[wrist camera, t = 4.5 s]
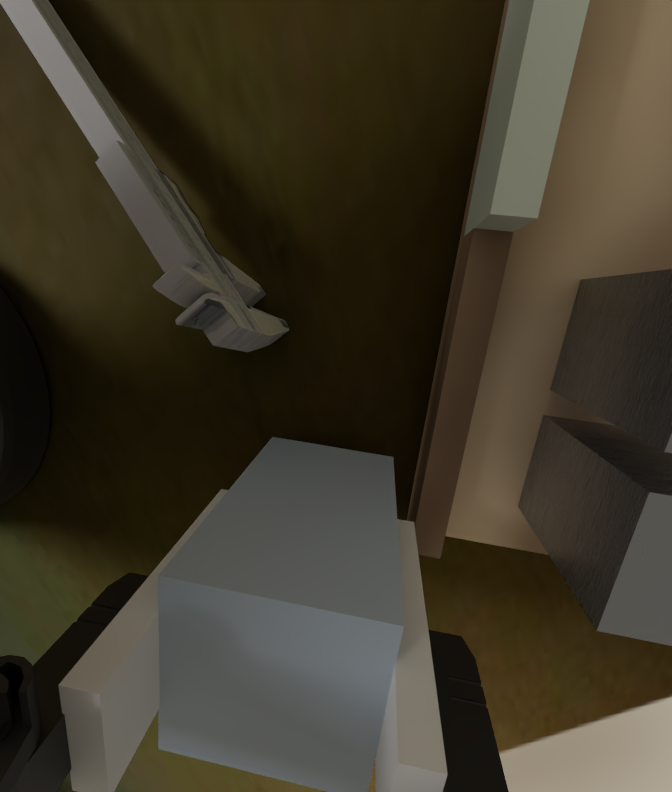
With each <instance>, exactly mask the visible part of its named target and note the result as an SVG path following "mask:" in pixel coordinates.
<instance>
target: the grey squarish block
mask: <svg viewBox="0 0 672 792" xmlns="http://www.w3.org/2000/svg"><path fill="white" fill-rule="evenodd" d="M518 507H519V509H520V511H521V512H522V514H523V515H524V517H525V518H526V520H527V522H528V523H529V525H530V526H531V528H532V530H533V531H534V533H535V534H536V536H537V537H538V539H539V541H540V542H541V544H542V545H543V547H544V548H545V550H546V552H547V553H548V555H549V556H550V558H551V560H552V561H553V563H554V564H555V566H556V567H557V569H558V571H559V572H560V574H561V575H562V577H563V578H564V580H565V582H566V583H567V585H568V586H569V588H570V590H571V591H572V593H573V594H574V596H575V597H576V599H577V601H578V602H579V604H580V605H581V607H582V609H583V610H584V612H585V613H586V615H587V616H588V618H589V620H590V621H591V623H592V624H593V626H594V627H595V629H596V631H600V632H605V633H610V634H615V635H620V636H625V637H630V638H635V639H640V640H645V641H650V642H655V643H660V644H665V645H670V646H672V453H668V452H664V451H662V450H660V449H658V448H656V447H654V446H653V445H651V444H649V443H647V442H645V441H643V440H642V439H640V438H638V437H636V436H634V435H632V434H630V433H629V432H627V431H625V430H623V429H621V428H619V427H618V426H616V425H610V424H603V423H596V422H589V421H582V420H575V419H569V418H562V417H555V416H548V415H543V417H542V421H541V424H540V428H539V431H538V435H537V439H536V442H535V446H534V449H533V453H532V457H531V460H530V464H529V467H528V471H527V475H526V478H525V482H524V485H523V489H522V493H521V496H520V500H519V503H518Z"/></svg>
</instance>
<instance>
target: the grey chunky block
mask: <svg viewBox="0 0 672 792" xmlns="http://www.w3.org/2000/svg"><path fill="white" fill-rule="evenodd" d="M550 390H551V391H553V392H555V393H557V394H559V395H560V396H562V397H564V398H566V399H568V400H570V401H571V402H573V403H575V404H577V405H579V406H581V407H583V408H584V409H586V410H588V411H590V412H592V413H594V414H595V415H597V416H599V417H601V418H603V419H605V420H606V421H608V422H610V423H612V424H614V425H616V426H618V427H619V428H621V429H623V430H625V431H627V432H629V433H630V434H632V435H634V436H636V437H638V438H640V439H642V440H643V441H645V442H647V443H649V444H651V445H653V446H654V447H656V448H658V449H660V450H662V451H664V452H668V453H672V269H666V270H658V271H649V272H641V273H632V274H624V275H615V276H607V277H598V278H590V279H581V280H580V283H579V287H578V290H577V294H576V298H575V301H574V305H573V308H572V312H571V316H570V319H569V323H568V326H567V330H566V334H565V337H564V341H563V344H562V348H561V352H560V355H559V359H558V362H557V366H556V370H555V373H554V377H553V380H552V384H551V388H550Z"/></svg>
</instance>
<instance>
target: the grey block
mask: <svg viewBox="0 0 672 792" xmlns="http://www.w3.org/2000/svg"><path fill="white" fill-rule="evenodd" d="M158 611H159V671H160V707H159V709H158V748H159V749H161V750H164V751H168V752H172V753H176V754H180V755H184V756H188V757H192V758H196V759H200V760H204V761H208V762H212V763H216V764H220V765H224V766H228V767H232V768H236V769H240V770H244V771H248V772H252V773H256V774H260V775H264V776H268V777H271V778H275V779H279V780H283V781H287V782H291V783H295V784H299V785H303V786H307V787H311V788H315V789H319V790H323V791H327V792H368V790H369V785H370V780H371V776H372V771H373V767H374V762H375V758H376V753H377V748H378V743H379V738H380V733H381V728H382V723H383V718H384V714H385V709H386V704H387V699H388V694H389V689H390V684H391V679H392V674H393V670H394V665H395V661H397V657H398V652H399V648H400V643H401V638H402V634H403V629H404V617H403V601H402V586H401V570H400V554H399V538H398V523H397V507H396V491H395V475H394V460H393V457H390V456H384V455H378V454H372V453H366V452H360V451H354V450H348V449H343V448H337V447H331V446H325V445H319V444H313V443H307V442H301V441H295V440H289V439H283V438H277V437H272V438H271V439H270V440H269V442H268V443H267V444H266V445H265V447H264V448H263V449H262V450H261V451H260V453H259V454H258V455H257V456H256V457H255V459H254V460H253V461H252V462H251V463H250V465H249V466H248V467H247V468H246V470H245V471H244V472H243V473H242V474H241V476H240V477H239V478H238V479H237V480H236V482H235V483H234V484H233V485H232V486H231V488H230V489H229V490H228V491H227V493H226V494H225V495H224V496H223V497H222V499H221V500H220V501H219V502H218V503H217V505H216V506H215V507H214V508H213V510H212V511H211V512H210V513H209V514H208V516H207V517H206V518H205V519H204V520H203V522H202V523H201V524H200V525H199V526H198V528H197V529H196V530H195V531H194V533H193V534H192V535H191V536H190V537H189V539H188V540H187V541H186V542H185V543H184V545H183V546H182V547H181V548H180V550H179V551H178V552H177V553H176V554H175V556H174V557H173V558H172V559H171V560H170V562H169V563H168V564H167V565H166V566H165V568H164V569H163V570H162V571H161V573H160V574H159V575H158Z"/></svg>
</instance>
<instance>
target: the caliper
mask: <svg viewBox="0 0 672 792" xmlns="http://www.w3.org/2000/svg"><path fill="white" fill-rule="evenodd" d="M0 3H1V5H2V7H3V8H4V10H5V11H6V13H7V14H8V16H9V17H10V19H11V21H12V22H13V24H14V25H15V27H16V28H17V30H18V32H19V33H20V35H21V36H22V38H23V39H24V41H25V42H26V44H27V46H28V47H29V49H30V50H31V52H32V53H33V55H34V57H35V58H36V60H37V61H38V63H39V64H40V66H41V67H42V69H43V71H44V72H45V74H46V75H47V77H48V78H49V80H50V81H51V83H52V85H53V86H54V88H55V89H56V91H57V92H58V94H59V96H60V97H61V99H62V100H63V102H64V103H65V105H66V106H67V108H68V110H69V111H70V113H71V114H72V116H73V117H74V119H75V121H76V122H77V124H78V125H79V127H80V128H81V130H82V131H83V133H84V135H85V136H86V138H87V139H88V141H89V142H90V144H91V145H92V147H93V149H94V150H95V152H96V153H97V155H98V156H99V159H98V160H97V161H96V162H95V163H96V165H97V166H98V168H99V169H100V171H101V172H102V174H103V176H104V177H105V179H106V180H107V182H108V184H109V185H110V187H111V188H112V190H113V192H114V193H115V195H116V196H117V198H118V200H119V201H120V203H121V204H122V206H123V208H124V209H125V211H126V212H127V214H128V215H129V217H130V219H131V220H132V222H133V223H134V225H135V227H136V228H137V230H138V231H139V233H140V235H141V236H142V238H143V239H144V241H145V243H146V244H147V246H148V247H149V249H150V251H151V252H152V254H153V255H154V257H155V258H156V260H157V262H158V263H159V265H160V266H161V268H162V270H163V271H164V273H165V274H164V275H163V276H162V277H161V278H160V279H159V280H157V281H156V282H155V283H154V284H153V288H155V289H156V290H157V291H158V292H160V293H161V294H163V295H164V296H166V297H167V298H169V299H170V300H172V301H173V302H175V303H177V304H178V305H180V306H182V307H184V308H187V309H186V310H185V311H184V312H183V313H182V314H180V315H179V316H178V317H177V318H176V319H175V322H176V325H181V326H186V327H191V328H196V329H201V330H203V331H204V333H205V334H206V336H207V337H208V339H209V340H210V342H211V343H212V345H213V346H217V347H223V348H228V349H233V350H238V351H244V352H250V351H253V350H256V349H259V348H262V347H265V346H268V345H270V344H272V343H273V342H275V341H276V340H277V339H278V338H280V337H281V336H282V335H284V334H285V333H286V332H288V331H289V327H288V325H287V323H286V321H285V320H283V319H280V318H277V317H275V316H272V315H270V314H267V313H265V312H263V311H260V310H258V309H255V308H253V307H252V306H253V305H254V304H256V303H257V302H258V301H259V300H260V299H262V298H263V297H264V296H265V295H267V294H266V293H265V292H264V290H263V289H262V288H261V286H260V285H259V284H258V283H257V282H256V281H254V280H253V279H252V278H250V277H249V276H248V275H247V274H245V273H244V272H243V271H241V270H240V269H239V268H237V267H236V266H235V265H233V264H232V263H231V262H230V261H228V260H227V259H226V258H224V257H223V256H222V255H220V254H219V253H218V252H216V251H215V250H214V248H213V247H212V245H211V244H210V242H209V241H208V239H207V238H206V236H205V234H206V233H205V231H204V229H203V227H202V225H201V223H200V221H199V219H198V217H197V215H196V214H195V212H194V211H193V210H192V208H191V207H190V206H189V205H188V203H187V202H186V200H185V198H184V197H183V194H182V193H181V191H180V189H179V187H178V186H177V184H176V183H175V182H174V181H173V180H172V179H171V178H169V177H168V176H167V175H165V174H164V173H163V172H161V171H160V170H159V169H158V168H157V166H156V165H155V163H154V162H153V160H152V159H151V157H150V155H149V154H148V152H147V151H146V149H145V148H144V146H143V145H142V143H141V142H140V140H139V139H138V137H137V135H136V134H135V132H134V131H133V129H132V128H131V126H130V125H129V123H128V122H127V120H126V119H125V117H124V115H123V114H122V112H121V111H120V109H119V108H118V106H117V105H116V103H115V102H114V100H113V99H112V97H111V96H110V94H109V92H108V91H107V89H106V88H105V86H104V85H103V83H102V82H101V80H100V79H99V77H98V76H97V74H96V72H95V71H94V69H93V68H92V66H91V65H90V63H89V62H88V60H87V59H86V57H85V56H84V54H83V52H82V51H81V49H80V48H79V46H78V45H77V43H76V42H75V40H74V39H73V37H72V36H71V34H70V32H69V31H68V29H67V28H66V26H65V25H64V23H63V22H62V20H61V19H60V17H59V15H58V14H57V12H56V11H55V9H54V8H53V6H52V5H51V3H50V1H49V0H0Z"/></svg>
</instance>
